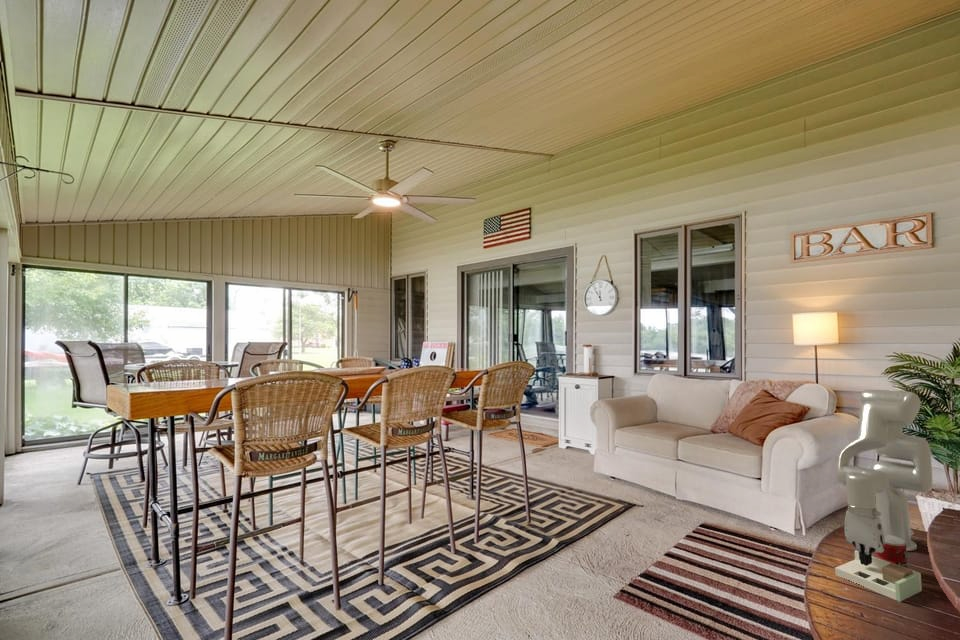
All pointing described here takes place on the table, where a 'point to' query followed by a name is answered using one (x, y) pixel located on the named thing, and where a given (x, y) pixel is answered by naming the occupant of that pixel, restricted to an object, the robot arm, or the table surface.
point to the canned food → (894, 551)
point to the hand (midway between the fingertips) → (865, 563)
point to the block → (894, 573)
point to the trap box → (879, 578)
